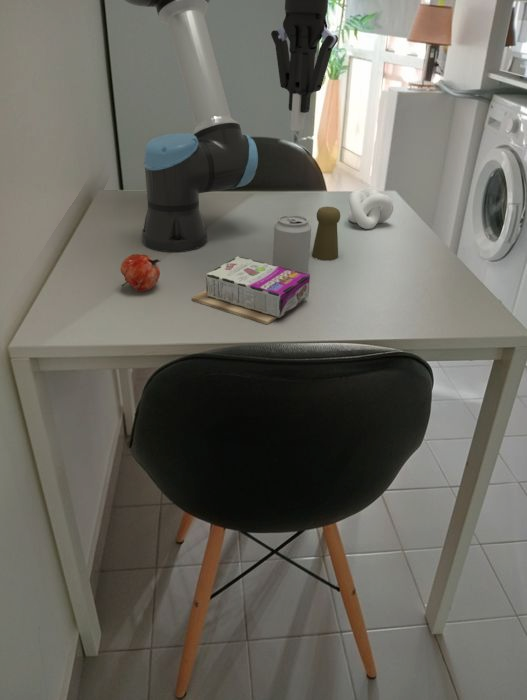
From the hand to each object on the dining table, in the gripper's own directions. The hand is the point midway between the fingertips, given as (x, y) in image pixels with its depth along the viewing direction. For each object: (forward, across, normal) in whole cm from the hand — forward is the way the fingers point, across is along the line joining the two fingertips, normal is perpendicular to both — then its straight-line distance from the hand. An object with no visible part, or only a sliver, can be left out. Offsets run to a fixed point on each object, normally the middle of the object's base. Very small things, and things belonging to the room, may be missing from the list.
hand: (297, 129), depth 118 cm
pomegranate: (+29, -16, -28) cm, 44 cm away
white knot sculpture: (+29, +1, +36) cm, 46 cm away
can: (+28, +3, -4) cm, 29 cm away
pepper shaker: (+29, +4, +10) cm, 30 cm away
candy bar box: (+25, +13, -19) cm, 34 cm away
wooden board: (+28, +3, -19) cm, 34 cm away
